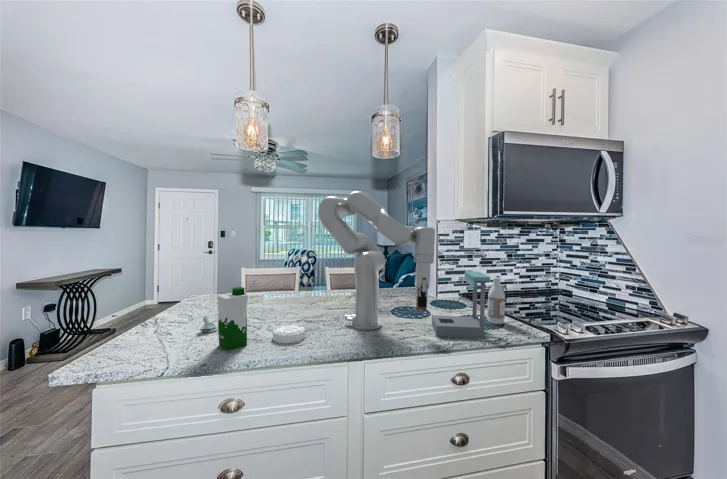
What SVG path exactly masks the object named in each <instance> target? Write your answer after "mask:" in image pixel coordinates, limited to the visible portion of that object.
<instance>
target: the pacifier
mask: <svg viewBox="0 0 727 479" xmlns="http://www.w3.org/2000/svg"><path fill="white" fill-rule="evenodd" d="M202 321H203V322H204V324H203V325H202V326H201V327H202V328H200V329H199V331H203V332H204V333H213V332H216V331H218V326H216V325H215V323H213V322H210V320H209V317H208V316H207V315H204V316H203V318H202Z"/></svg>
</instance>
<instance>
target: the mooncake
mask: <svg viewBox="0 0 727 479" xmlns="http://www.w3.org/2000/svg"><path fill="white" fill-rule="evenodd" d="M305 338H306V328H305V327H303V326H302V325H299V324H284V325H281V326H278V327H276V328H274V329H273V331H272V340H273V341H274V342H276V343H278V344H291V343H292V344H293V343H296V342H297V343H298V342H300V341H304V340H303V339H305Z"/></svg>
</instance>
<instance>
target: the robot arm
mask: <svg viewBox="0 0 727 479" xmlns="http://www.w3.org/2000/svg"><path fill="white" fill-rule="evenodd" d="M354 215H358V216H360V217H362V218H363V219H364V220H365V221H367V222H368V223H370V224H371V225H373V227H374V228H375V229H376V230H377V231H378V232H379V233H380V234H382V235H383V236H384V237H385V238H387V239H388V240H390V241H391V242H392V243H394V244H396V245H398V246H406V245H414V249H413V251H414V253H413V256H414V257H413V262H414V263H415V264H416V266H415V275H414V287H415V289H416V290H417V289H418V288H419V296H418V307H426V305H427V306H428V292H427V289H428V290H429V288H430V281H431V264H434V261H435V260H434V259H435V242H436V241H435V240H436V230H435V228H434V227H429V226H418V227H416V226H411V225H403V224H401V223H400V222H398V221H397V220H396V219H394V218H393V217H392V216H390V215H389V214H388V213H387V209H386V207H384V206H383V205H382V204H380V203H378V202H377V201H375V199H374V198H373V196H372V195H371V194H369V193H367V192H364V191H360V190H359V191H358V190H356V191H352V192H350V193H349V194H348V196H347V197H337V196H327V197H324V198H323V199H322V200H321V201H320V203H319V205H318V218H319V221H320V223H321V225H322V226H323V227H324V228H325V229H326V231H327V232H328V233H329V234H330V235H331V236H332V238H333V240H334V241H335V242H336V243H337V244H338V245H339V247H340V248H341V250H343V252H344V253H345V254H347V255H350V256H351V255H352V256H353V255H357V256H356V257H355V258H354V261H353V269H354V270H353V271H354V275H355V278H354V281H355V313H354V314H352V315H350V314H345V318H344V319H345V320H346V321H347V322H351V321H352V322H351V326H352V327H353V328H354V329H356V330H362V331H375V330H377V329H380V328H381V327H382V322H381V321H380V320H379V308H378V307H379V279H378V276H377V272H379V271H381V270H382V269H383V268H384V267H385V265H386V258H385V255H384V254H383V252H382V250H381V249H380V248H379V247H378V246H377V245H376V244H375V243H374V242H373V240H372V239H371V238H370V237H369V236H368V235H366V234H365V233H364V232H355V231H354V230H353V229H352V228H351V227H350V226H349V225H348V223H347V222H346V221H344V220H343V218H342V217H350V216H354ZM421 287H422V288H421ZM421 290H422V291H421Z"/></svg>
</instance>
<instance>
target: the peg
mask: <svg viewBox="0 0 727 479" xmlns="http://www.w3.org/2000/svg"><path fill="white" fill-rule="evenodd" d="M421 288H422V287H421ZM421 291H422V290H421ZM428 291H429V289H427V293H428ZM418 296H419V288H418V289H417V288H416V307H415V309H416V310H417V311H423V312H425V311H427V306H428V304H427V305H426V307H418Z"/></svg>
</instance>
